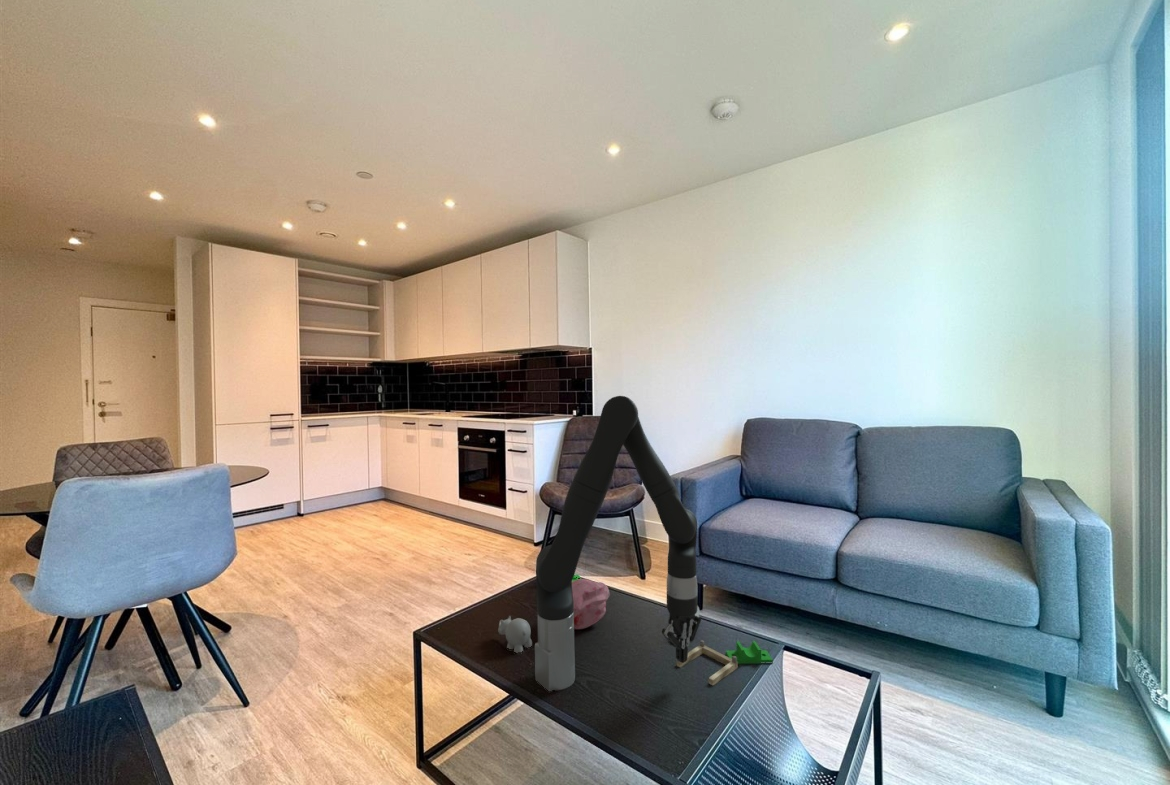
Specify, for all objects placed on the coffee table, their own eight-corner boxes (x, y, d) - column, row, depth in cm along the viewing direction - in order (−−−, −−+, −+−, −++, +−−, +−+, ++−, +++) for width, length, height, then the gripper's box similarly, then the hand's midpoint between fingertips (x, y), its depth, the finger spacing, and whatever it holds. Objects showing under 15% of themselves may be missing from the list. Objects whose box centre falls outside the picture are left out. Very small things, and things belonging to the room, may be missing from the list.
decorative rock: (581, 647, 130) (580, 595, 130) (544, 632, 138) (543, 583, 138) (616, 619, 145) (615, 573, 145) (580, 607, 153) (579, 563, 153)
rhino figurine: (510, 633, 138) (509, 606, 138) (536, 648, 130) (535, 619, 130) (490, 644, 132) (490, 615, 132) (516, 659, 124) (516, 629, 124)
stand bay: (713, 688, 111) (712, 675, 111) (676, 667, 120) (676, 655, 120) (737, 669, 118) (737, 657, 118) (701, 651, 127) (701, 639, 127)
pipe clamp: (765, 640, 125) (772, 649, 120) (766, 654, 125) (772, 663, 120) (725, 641, 125) (730, 650, 120) (725, 654, 125) (730, 664, 120)
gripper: (676, 604, 105) (676, 679, 105) (710, 588, 113) (710, 657, 113) (652, 593, 111) (652, 664, 111) (686, 579, 119) (686, 644, 119)
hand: (681, 660), depth 112 cm, fingers closed
